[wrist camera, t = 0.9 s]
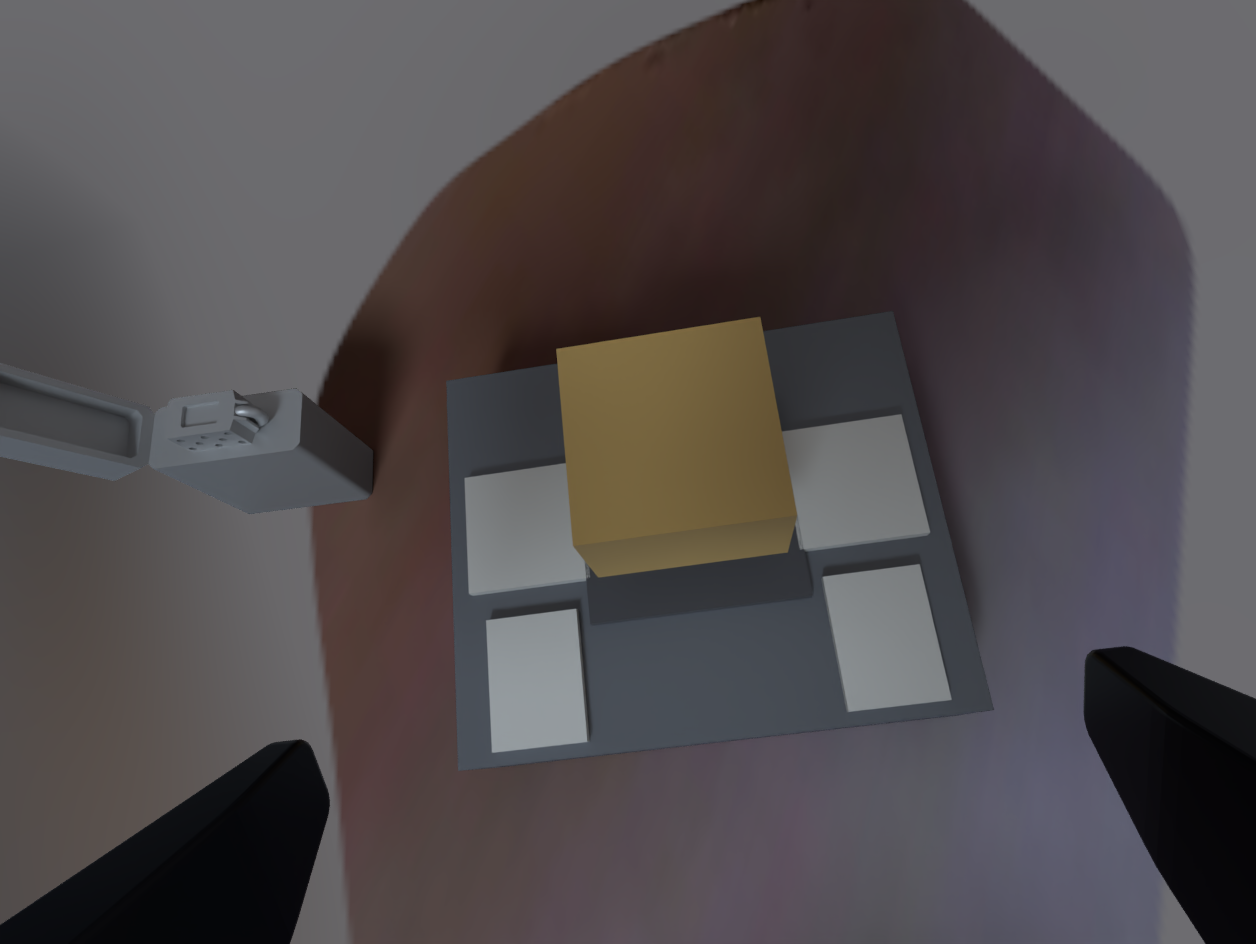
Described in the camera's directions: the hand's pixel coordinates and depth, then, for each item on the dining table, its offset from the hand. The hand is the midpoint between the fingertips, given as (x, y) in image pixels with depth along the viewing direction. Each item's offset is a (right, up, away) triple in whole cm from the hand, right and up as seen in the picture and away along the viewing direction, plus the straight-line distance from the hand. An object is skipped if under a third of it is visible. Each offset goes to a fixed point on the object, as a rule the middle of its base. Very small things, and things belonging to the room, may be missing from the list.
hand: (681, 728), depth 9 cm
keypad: (+1, +1, +13) cm, 13 cm away
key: (0, +3, +8) cm, 9 cm away
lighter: (-12, +2, +16) cm, 20 cm away
